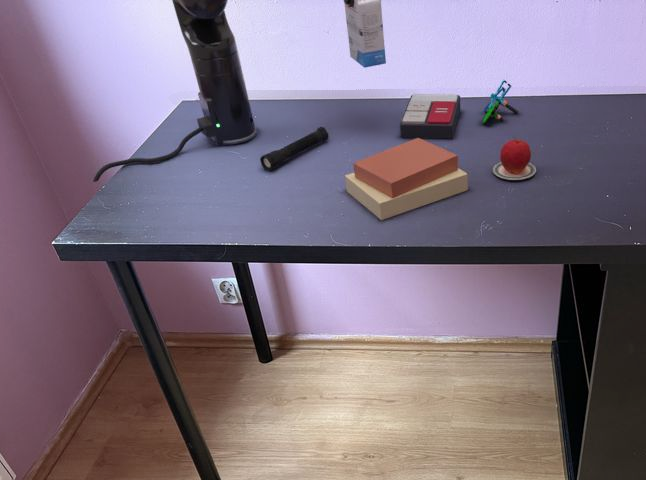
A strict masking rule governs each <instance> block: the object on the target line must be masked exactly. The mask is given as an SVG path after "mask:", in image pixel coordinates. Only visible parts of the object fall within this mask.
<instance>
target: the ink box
mask: <svg viewBox="0 0 646 480" xmlns="http://www.w3.org/2000/svg"><path fill="white" fill-rule="evenodd" d="M343 4H344V10H345V21H346V30H347V39H348V46H349V57H350V58H351V59H352V60H354V61H355V62H356V63H358V64H359V65H360V66H362V68H364V69H365V68H366V69H367V68H369V67H370V68H371V67H376V66H382V65H385V64H387V60H386V57H387V56H386V46H385V36H384V25H383V10H382V0H354V4H353V7H349V6H348V4H345V3H343Z"/></svg>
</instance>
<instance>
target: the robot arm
mask: <svg viewBox="0 0 646 480" xmlns="http://www.w3.org/2000/svg"><path fill="white" fill-rule="evenodd" d="M343 2H344V3H345V4H348V6H349V7H353V4H354V0H343ZM344 3H343V4H344ZM172 4H173V7H174V12H175V15H176V18H177V22H178V25H179V27H180V32H181V35H182V37H183V39H184V42H185V44H186V46H187V50H188V53H189V56H190V59H191V63H192V64H191V65H192V67H193V68H192V69H193V70H194V75H195V78H196V82H197V86H198V90H199V92H197V96H198V99H199V104H200V107H201V110H202V114H203V117H198V118H196V121H197V125H198V128H196V129H195V130H193V131H191V132H190V133H188V134H187V135H186V136H185V137H184V138H183V139H182V140H181V142H180V143H179V145H178V147H177V148H176V149H174V150H173V151H172V152H170V153H168V154H165V155H161V156H157V157H151V158H143V157H134V158H133V157H132V158H127V159H123V160H118V161H113V162H109V163H107V164H105V165H103V166H102V167H101V168H99V170H97V172H96V173H95V175H94V177H93V180H92V182H94V183H96V182H99V180H100V179H101V177H102V175H103V174H104V173H105V172H106V171H107V170H110V169H111V168H112V169H113V168H115V167H120V166H126V165H129V164H130V165H131V164H134V163H135V164H137V163H143V164H154V163H159V162H163V161H167V160H170V159H173V158H174V157H176V156H177V155H179V154H180V153H181V152H182V151H183V149H184V147H185V145H186V144H187V143H188V141H190V140H191V139H192V138H194V137H195V136H197V135H198V134H200V133H202V134H203V136H205V137H206V139H209V138H210V139H211V140H212V141H213V142H214V143H215V144H216V145H217V146H219V147H220V146H221V147H222V146H228V145H229V146H230V145H238V144H242V143H246V142H248V141H251V140H252V139H254V138H255V137H256V135H257V127H255V121H254V119H255V118H254V116H253V115H254V114H253V112H252V108H251V103H250V99H249V95H248V90H247V86H246V80H245V77H244V73H243V67H242V64H241V60H240V54H239V50H238V46H237V42H236V38H235V35H234V33H233V31H232V29H231V27H230V25H229V22H228V19H227V15H226V12H225V9H226V7H227V5H228V0H172ZM345 4H344V5H345Z"/></svg>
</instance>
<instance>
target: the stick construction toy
mask: <svg viewBox="0 0 646 480" xmlns="http://www.w3.org/2000/svg"><path fill="white" fill-rule="evenodd" d="M504 83H505V84H506V85H507V86H508V87H507V88H505V87H504V86H503V85H504ZM511 88H512V84H510V83H508V81H506V79H502V82H501V83H500V85H499V86H498V88H497V89H496V92H495V93H494V92H492V93H490V97H491V99H490V101H488V103H487V105H486V106H485V108H484V109H483V112H484V114H485V116H484V118H483V121H482V123H483V124H487V123H488V122H489V121H490V120H491V118H492V117H493V118H495V119H496V120H498V121H501V122H503V121H504V118H503V117H502V116H501V114H498V113H497V111H498V109H499V107H500V106H501V107H503V108H507V109H508V110H509V111H511V112H512V113H513V114H515V115H517V114H518V113H519V110H518V109H516V108H515V107H513V106H512V105H511V104H509V103H508V101H507V100H506V99H504V98H505V97H506V95H507V94H508V92H509V90H510V89H511ZM500 93H501V94H500ZM498 95H500V97H499V96H498ZM495 101H496V102H495ZM494 102H495V103H494ZM487 110H488V111H487Z"/></svg>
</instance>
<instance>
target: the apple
mask: <svg viewBox="0 0 646 480" xmlns="http://www.w3.org/2000/svg"><path fill="white" fill-rule="evenodd" d="M512 138H513V139H511V140H508V141H506V142H505V143H504V144H503V146H502V147H501V150H500V155H499V157H500V162H498V163H496V164H495V165H494V166H493V167H492V173H493V174H494V175H495V176H496V177H498V178H500V179H504V180H508V181H521V180H526V179H529V178H531V177H533V176H534V175H535V174H536V172H537V169H536V166H535V165H534V164H532V163H531V162H530V161H531V158H532V152H531V151H532V150H531V148H530V145H529V143H528V142H526V141H524V140H523V139H516V137H515V136H512Z"/></svg>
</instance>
